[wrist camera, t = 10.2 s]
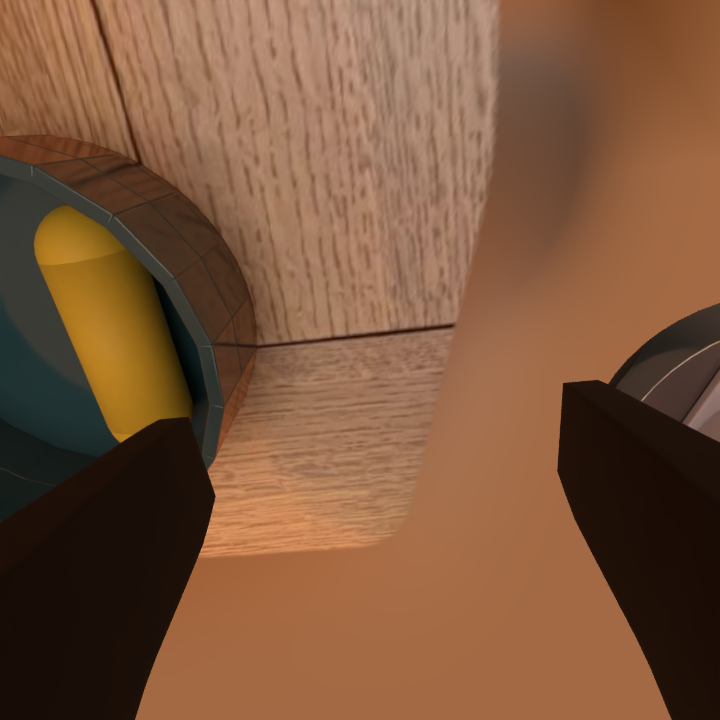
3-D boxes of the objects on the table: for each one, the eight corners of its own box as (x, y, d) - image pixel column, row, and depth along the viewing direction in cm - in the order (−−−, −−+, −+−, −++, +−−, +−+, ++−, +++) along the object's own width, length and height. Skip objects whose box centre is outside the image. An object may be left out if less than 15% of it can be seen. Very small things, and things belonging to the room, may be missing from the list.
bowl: (288, 201, 18) (256, 229, 13) (229, 487, 24) (194, 572, 19) (-118, 81, 16) (-306, 67, 12) (-68, 416, 22) (-180, 490, 18)
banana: (141, 426, 21) (211, 417, 21) (107, 473, 18) (189, 464, 18) (44, 181, 17) (133, 168, 17) (-19, 192, 14) (87, 178, 14)
